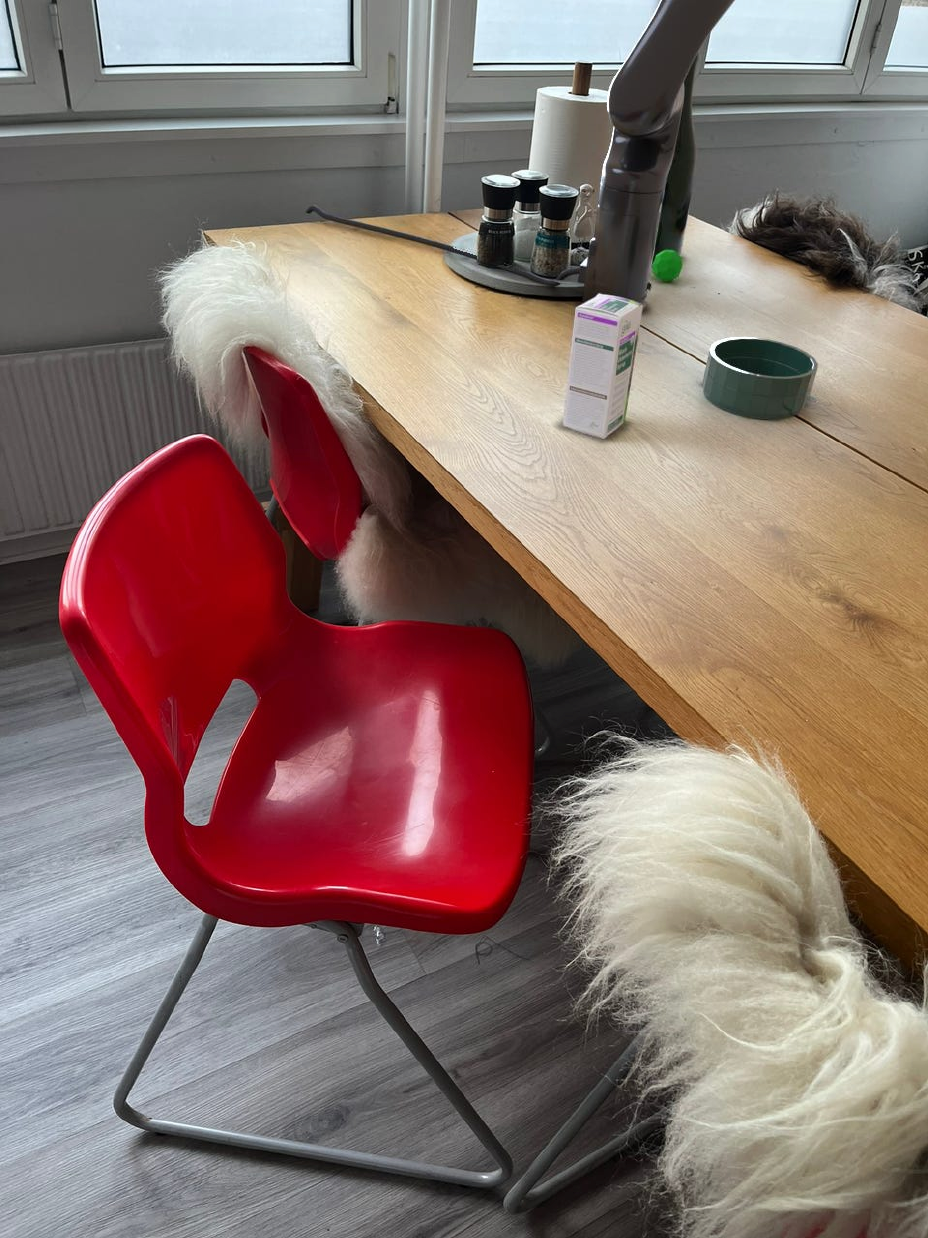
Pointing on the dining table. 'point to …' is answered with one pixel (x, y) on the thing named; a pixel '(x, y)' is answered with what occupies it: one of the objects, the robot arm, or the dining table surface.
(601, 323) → the syrup box
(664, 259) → the polyhedron
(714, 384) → the crock
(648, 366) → the dining table surface
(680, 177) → the beer bottle
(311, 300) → the dining table surface
